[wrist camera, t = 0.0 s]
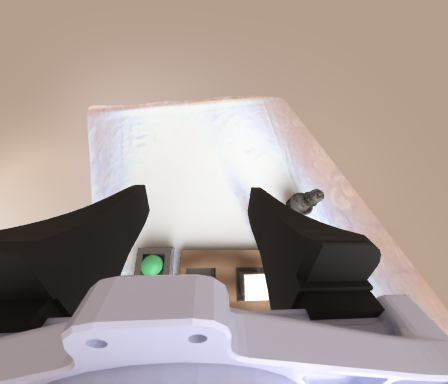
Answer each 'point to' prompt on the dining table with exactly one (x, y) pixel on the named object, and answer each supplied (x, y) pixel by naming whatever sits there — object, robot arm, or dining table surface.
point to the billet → (253, 286)
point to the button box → (163, 252)
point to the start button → (152, 265)
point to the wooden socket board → (226, 271)
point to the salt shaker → (305, 201)
